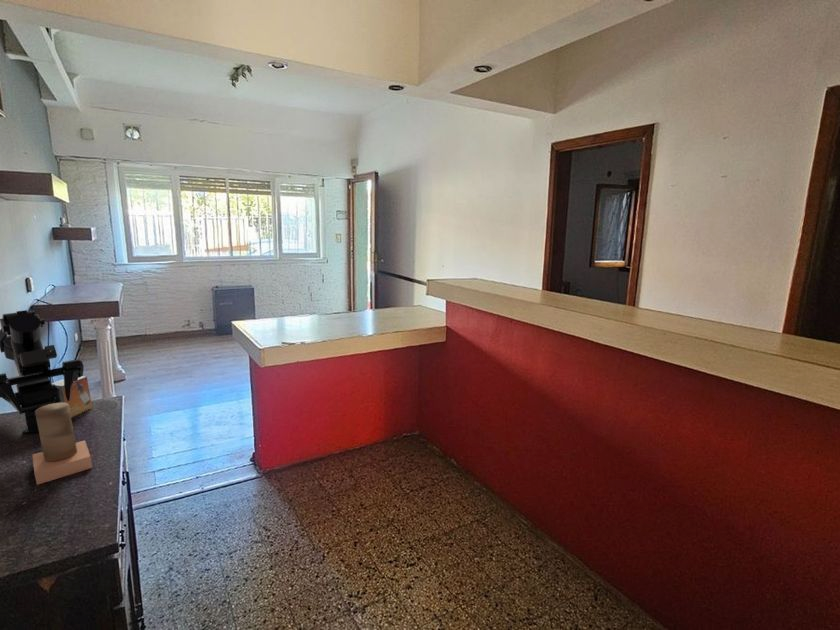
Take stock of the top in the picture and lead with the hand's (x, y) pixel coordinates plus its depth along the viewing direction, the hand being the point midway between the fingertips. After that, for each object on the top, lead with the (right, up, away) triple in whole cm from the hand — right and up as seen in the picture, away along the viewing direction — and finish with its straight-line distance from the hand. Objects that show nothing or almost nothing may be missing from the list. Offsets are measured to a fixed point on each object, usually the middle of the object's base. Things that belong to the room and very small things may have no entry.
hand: (45, 406), depth 108 cm
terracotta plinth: (+8, -14, -4) cm, 16 cm away
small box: (-12, -7, +24) cm, 27 cm away
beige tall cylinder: (+8, -11, -5) cm, 14 cm away
